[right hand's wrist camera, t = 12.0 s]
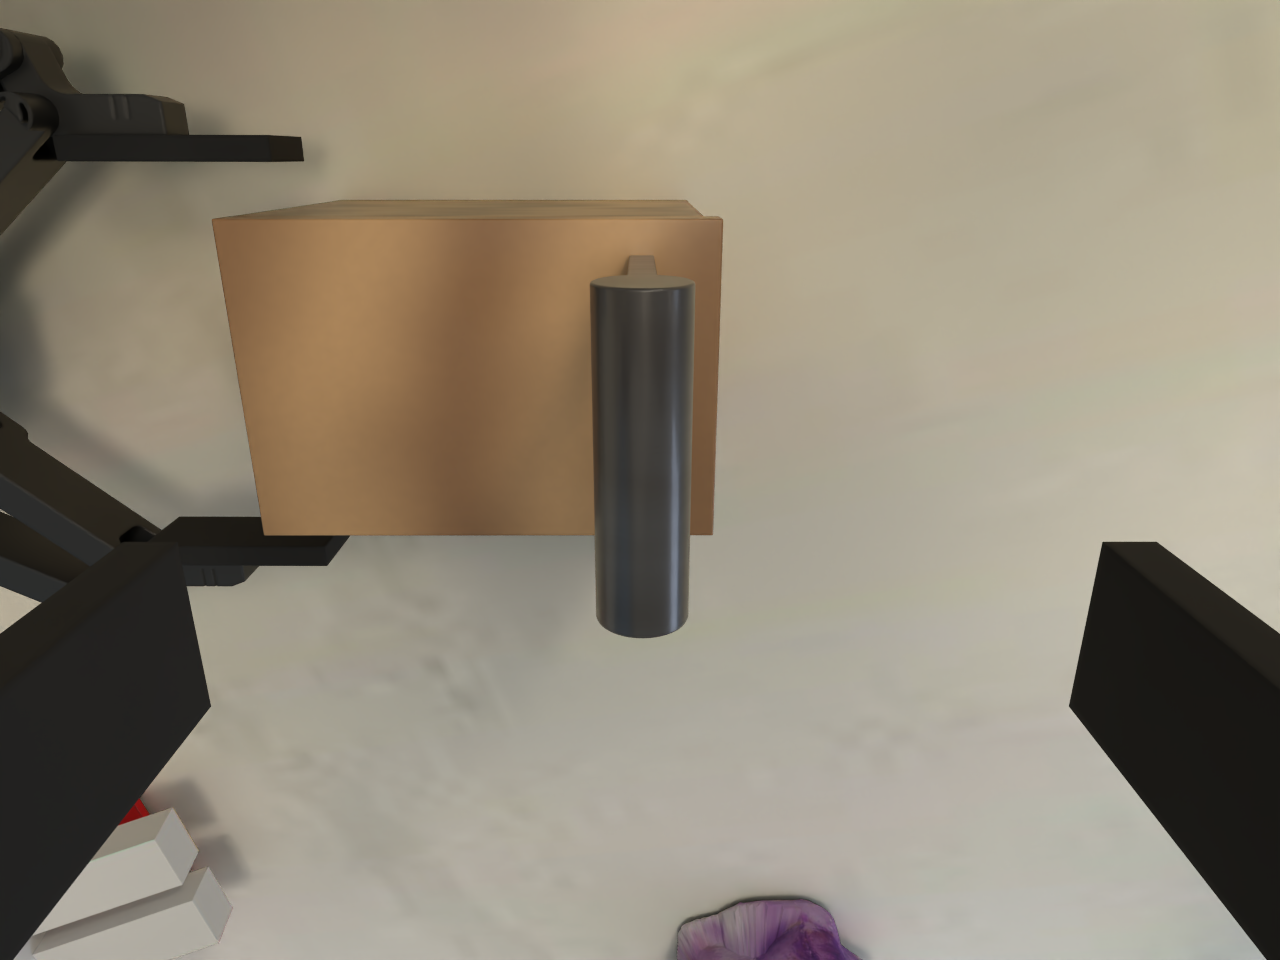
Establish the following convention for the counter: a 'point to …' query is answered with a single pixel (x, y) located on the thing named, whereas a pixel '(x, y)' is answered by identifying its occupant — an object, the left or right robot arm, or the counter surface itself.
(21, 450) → the left robot arm
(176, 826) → the toy
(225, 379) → the counter surface
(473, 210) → the chest
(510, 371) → the lid
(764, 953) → the figurine
